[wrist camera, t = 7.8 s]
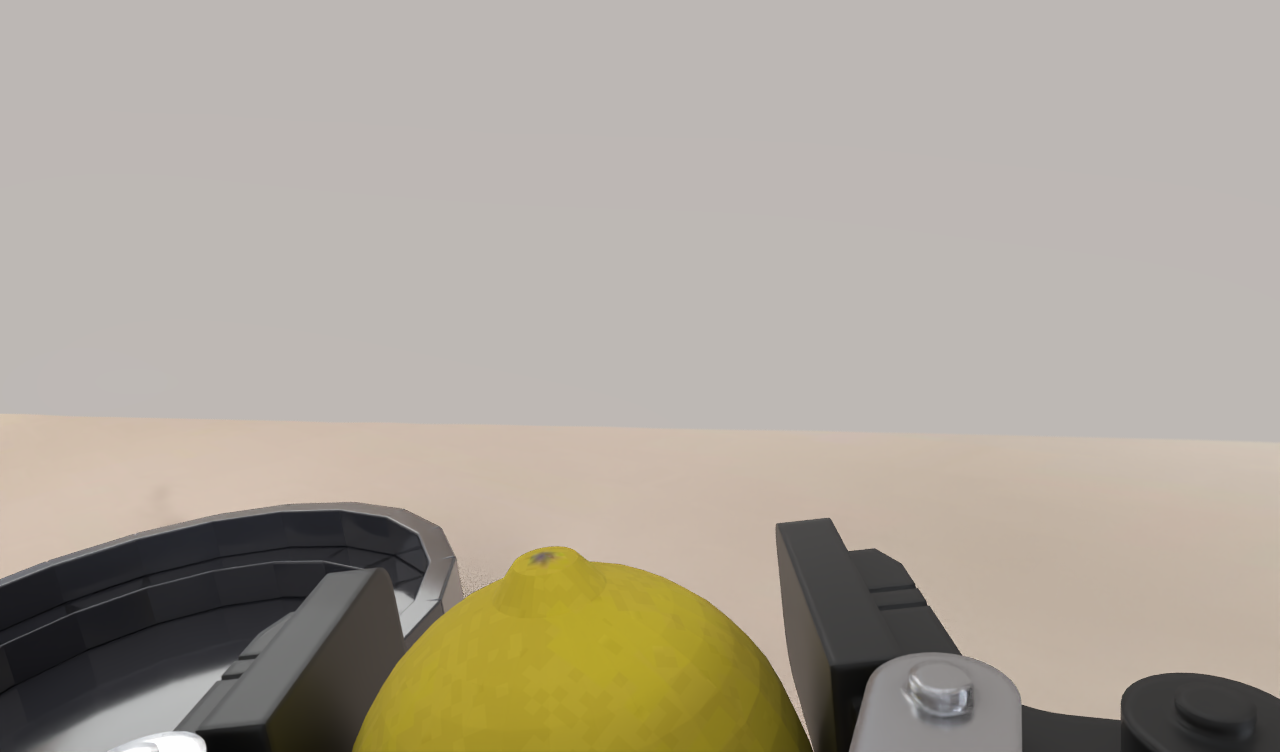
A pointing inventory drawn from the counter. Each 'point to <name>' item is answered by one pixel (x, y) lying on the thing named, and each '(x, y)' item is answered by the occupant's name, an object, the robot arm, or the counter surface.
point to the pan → (188, 613)
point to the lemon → (582, 671)
